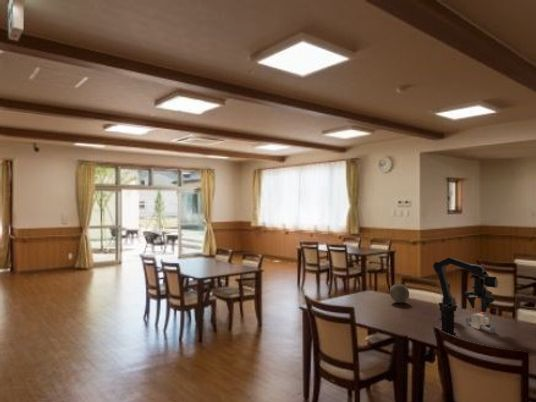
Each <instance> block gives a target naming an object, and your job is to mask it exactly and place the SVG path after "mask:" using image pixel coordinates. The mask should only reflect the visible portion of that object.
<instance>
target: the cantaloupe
mask: <svg viewBox="0 0 536 402" xmlns="http://www.w3.org/2000/svg"><path fill="white" fill-rule="evenodd" d="M389 295H390V297H391V299H392V300H393V301H394V302H395V303H398V304H403V303H406V302H407V301H408V300H409V298H410V291H409V288H407V286H406V285H404V284H402V283H396V284H393V285H392V286H391V287H390V289H389Z"/></svg>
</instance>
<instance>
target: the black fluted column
mask: <svg viewBox="0 0 536 402" xmlns="http://www.w3.org/2000/svg"><path fill="white" fill-rule="evenodd" d="M451 305H452V303H448V305H443V302H438V306H439V310H440V309H442V313H441V312H440V315H441V314H442V320H441V330H442V331H444V332H446V333H449V334H451V335H454V336H456V337H457V338H458V336H457V333H456V332H455V317H456V315H455V312H457V308H458V305H457V304H456V305H453V306H451Z"/></svg>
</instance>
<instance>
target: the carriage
mask: <svg viewBox="0 0 536 402" xmlns="http://www.w3.org/2000/svg"><path fill="white" fill-rule="evenodd" d="M471 318H472V326H471V327H472V328H474V329H477V330H481V329H480V325H483V326H485V327H487V326H486V318H487V317H486V315H485V314H484V315H482V314H480V313H473V314H471Z"/></svg>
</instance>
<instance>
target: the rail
mask: <svg viewBox="0 0 536 402" xmlns="http://www.w3.org/2000/svg"><path fill="white" fill-rule="evenodd" d="M465 322H466V325H468V326H469V325H470V326H471V327H472V317H466V321H465ZM496 328H497V327H496V326H495V325H492V326H491V325H490V326H489V327H488V326H486V327H485V326H483V325H480V329H479V330H482V331H484V332H487V333H489V334H492V335H493V334H496V331H497V330H496Z"/></svg>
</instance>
